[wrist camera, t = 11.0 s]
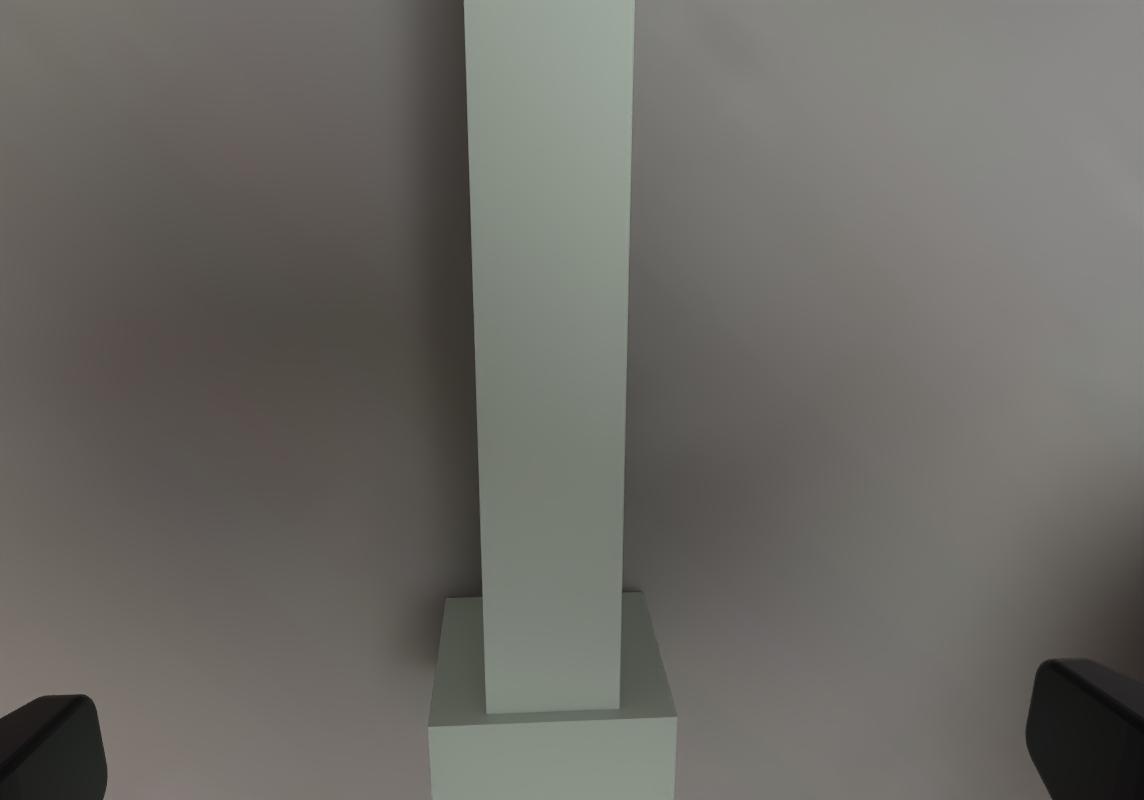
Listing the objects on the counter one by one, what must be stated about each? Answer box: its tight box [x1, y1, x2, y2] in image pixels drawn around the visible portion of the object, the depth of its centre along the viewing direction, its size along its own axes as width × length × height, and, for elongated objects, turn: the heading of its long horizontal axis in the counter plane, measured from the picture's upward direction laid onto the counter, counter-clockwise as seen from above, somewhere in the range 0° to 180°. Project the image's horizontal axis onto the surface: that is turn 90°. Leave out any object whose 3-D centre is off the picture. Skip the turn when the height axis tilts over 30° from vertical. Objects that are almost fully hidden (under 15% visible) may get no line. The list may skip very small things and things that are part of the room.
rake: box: [428, 0, 678, 800], centre depth 17 cm, size 23×12×5 cm, turn 0°
